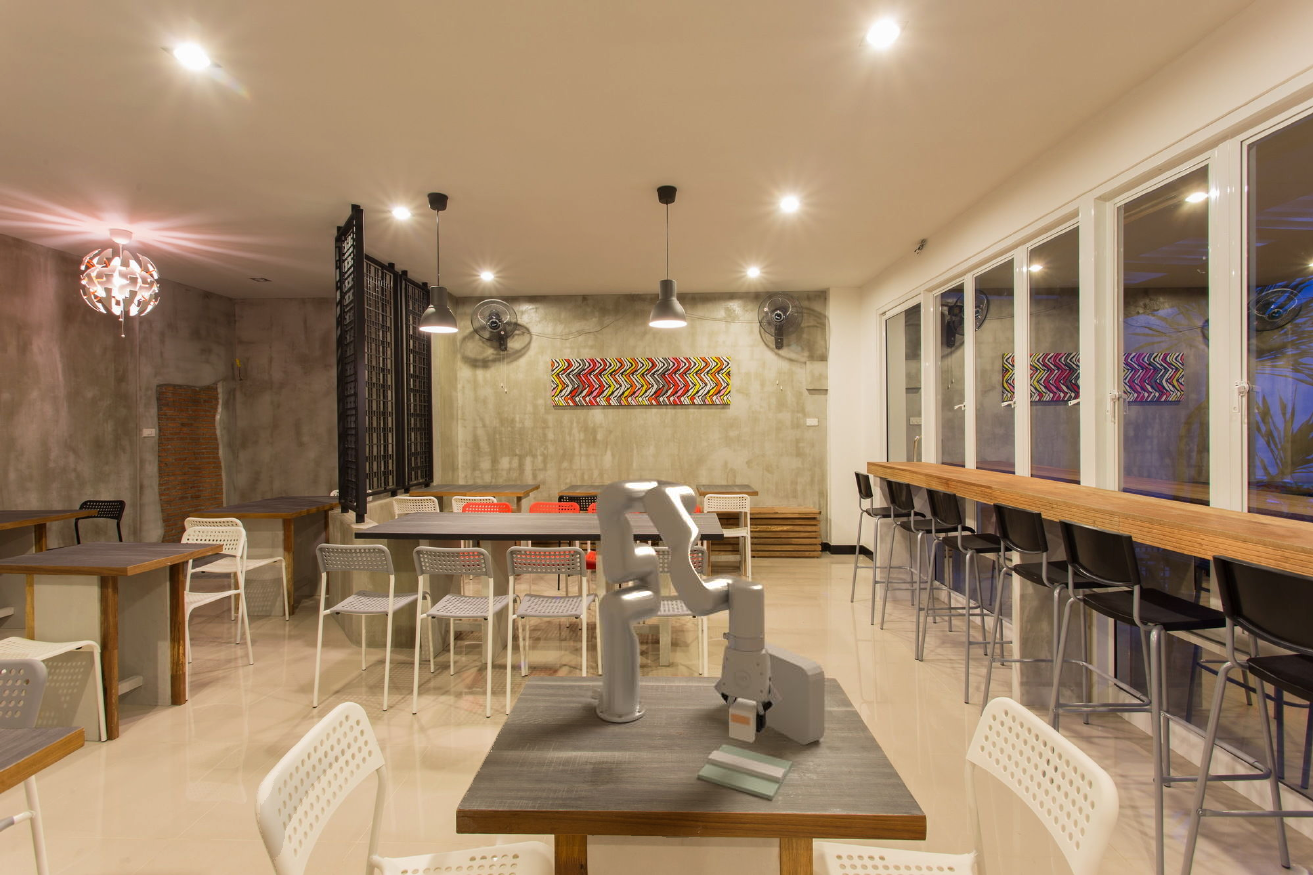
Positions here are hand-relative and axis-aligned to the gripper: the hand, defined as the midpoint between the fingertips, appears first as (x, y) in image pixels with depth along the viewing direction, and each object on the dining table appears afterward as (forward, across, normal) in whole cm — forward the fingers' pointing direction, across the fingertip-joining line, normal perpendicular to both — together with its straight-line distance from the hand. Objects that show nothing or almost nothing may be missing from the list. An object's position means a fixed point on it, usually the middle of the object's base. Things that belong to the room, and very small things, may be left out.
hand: (747, 726), depth 128 cm
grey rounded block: (+10, -2, +25) cm, 27 cm away
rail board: (+10, 0, 0) cm, 10 cm away
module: (+1, 0, 0) cm, 1 cm away
